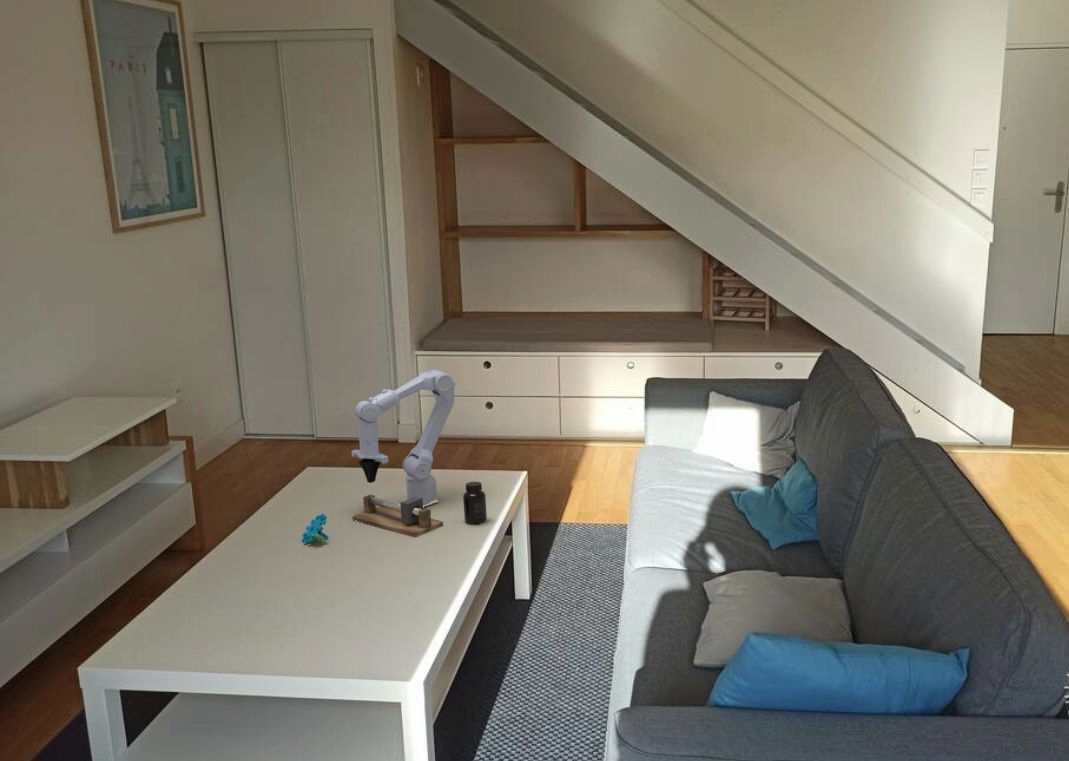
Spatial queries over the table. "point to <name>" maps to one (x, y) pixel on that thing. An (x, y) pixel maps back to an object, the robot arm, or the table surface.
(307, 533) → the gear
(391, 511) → the pipe stand
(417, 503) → the collar
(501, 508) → the table surface
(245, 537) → the table surface
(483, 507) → the supplement bottle
